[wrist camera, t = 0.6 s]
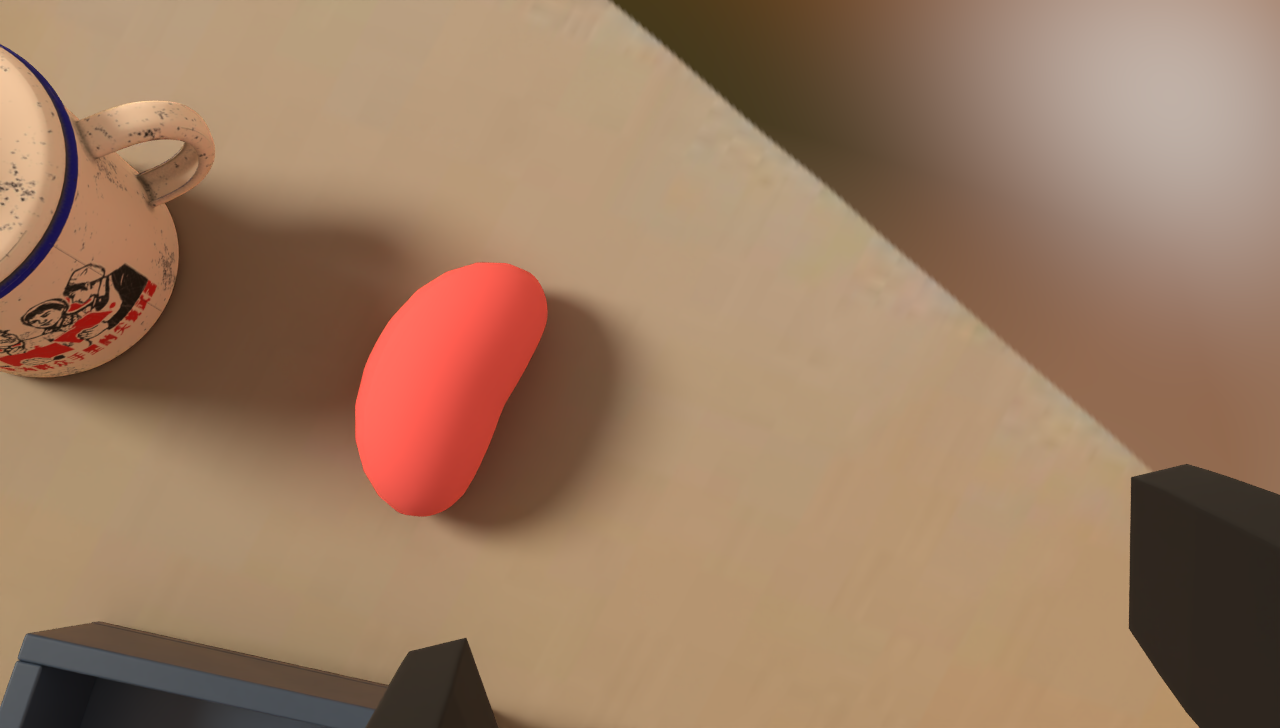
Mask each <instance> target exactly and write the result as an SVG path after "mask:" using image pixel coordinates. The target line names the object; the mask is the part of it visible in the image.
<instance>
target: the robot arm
mask: <svg viewBox="0 0 1280 728" xmlns="http://www.w3.org/2000/svg"><path fill="white" fill-rule="evenodd" d="M1129 629H1130V631H1131V632H1132V634H1133V635H1134V637H1135V638H1136V640H1137V641H1138V643H1139V644H1140V646H1141V647H1142V649H1143V650H1144V652H1145V653H1146V655H1147V656H1148V658H1149V659H1150V661H1151V662H1152V664H1153V665H1154V667H1155V668H1156V670H1157V672H1158V673H1159V674H1160V676H1161V677H1162V679H1163V680H1164V682H1165V683H1166V684H1167V686H1168V687H1169V689H1170V690H1171V691H1172V693H1173V694H1174V696H1175V697H1176V698H1177V700H1178V701H1179V703H1180V704H1181V705H1182V707H1183V708H1184V710H1185V711H1186V712H1187V713H1188V715H1189V716H1190V717H1191V718H1192V719H1193V720H1194V722H1195V723H1196V724H1197V725H1198V726H1199V727H1200V728H1280V495H1278V494H1276V493H1273V492H1270V491H1267V490H1264V489H1262V488H1259V487H1256V486H1253V485H1250V484H1247V483H1245V482H1242V481H1239V480H1236V479H1233V478H1230V477H1227V476H1224V475H1221V474H1218V473H1215V472H1212V471H1209V470H1205V469H1202V468H1199V467H1195V466H1192V465H1188V464H1185V465H1180V466H1176V467H1172V468H1168V469H1164V470H1160V471H1156V472H1151V473H1147V474H1143V475H1139V476H1135V477H1131V526H1130V591H1129ZM365 728H498V726H497V723H496V720H495V717H494V714H493V712H492V709H491V706H490V703H489V700H488V698H487V695H486V692H485V689H484V686H483V683H482V681H481V678H480V675H479V672H478V669H477V667H476V664H475V661H474V658H473V655H472V652H471V650H470V647H469V644H468V641H467V638H464V639H459V640H455V641H451V642H447V643H443V644H439V645H435V646H430V647H426V648H422V649H418V650H414V651H410V652H409V653H408V654H407V656H406V657H405V659H404V660H403V662H402V663H401V665H400V667H399V669H398V670H397V672H396V674H395V676H394V677H393V679H392V681H391V683H390V684H389V686H388V688H387V690H386V691H385V693H384V695H383V697H382V699H381V700H380V702H379V704H378V706H377V708H376V709H375V711H374V713H373V715H372V716H371V718H370V720H369V722H368V724H367V725H366V727H365Z"/></svg>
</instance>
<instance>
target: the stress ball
mask: <svg viewBox="0 0 1280 728" xmlns="http://www.w3.org/2000/svg"><path fill="white" fill-rule="evenodd" d="M546 322H547V302H546V297H545V294H544V291H543V289H542V287H541V285H540V283H539V282H538V280H537V279H536V278H535V277H534V276H533V275H532V274H531V273H529V272H527V271H525V270H523V269H520V268H518V267H515V266H513V265H511V264H506V263H475V264H471V265H468V266H464V267H461V268H458V269H454V270H451V271H448V272H445V273H444V274H442V275H441V276H439V277H437V278H436V279H434V280H433V281H431V282H429V283H428V284H426V285H425V286H423V287H421V288H420V289H418V290H417V291H416V292H415V293H414V294H413V295H412V296H411V297H410V299H409V300H408V301H407V302H406V303H405V304H404V305H403V306H402V307H401V308H400V309H399V310H398V311H397V312H396V313H395V315H394V316H393V317H392V318H391V319H390V321H389V322H388V324H387V325H386V327H385V328H384V330H383V332H382V333H381V335H380V337H379V338H378V340H377V342H376V344H375V346H374V348H373V350H372V352H371V354H370V356H369V358H368V361H367V363H366V365H365V368H364V371H363V376H362V380H361V384H360V388H359V392H358V396H357V400H356V404H355V439H356V443H357V447H358V451H359V455H360V458H361V462H362V466H363V470H364V472H365V474H366V475H367V477H368V479H369V480H370V482H371V484H372V485H373V487H374V489H375V490H376V492H377V494H378V495H379V496H380V497H381V498H382V499H383V500H384V501H385V502H387V503H388V504H389V505H390V506H391V507H392V508H394V509H395V510H396V511H397V512H399V513H401V514H405V515H412V516H430V515H434V514H437V513H440V512H442V511H444V510H446V509H448V508H449V507H451V506H452V505H453V504H454V503H455V502H456V501H457V500H458V499H459V498H461V497H462V495H463V494H464V493H465V491H466V490H467V488H468V486H469V485H470V483H471V482H472V480H473V478H474V476H475V474H476V472H477V470H478V468H479V466H480V464H481V462H482V460H483V458H484V455H485V453H486V451H487V449H488V446H489V444H490V441H491V439H492V436H493V434H494V431H495V428H496V426H497V423H498V420H499V417H500V415H501V412H502V410H503V408H504V405H505V403H506V401H507V400H508V398H509V396H510V395H511V393H512V391H513V390H514V388H515V386H516V385H517V383H518V381H519V380H520V378H521V376H522V374H523V373H524V371H525V369H526V367H527V365H528V363H529V361H530V359H531V357H532V355H533V353H534V351H535V349H536V347H537V346H538V344H539V341H540V339H541V336H542V334H543V331H544V329H545V326H546Z"/></svg>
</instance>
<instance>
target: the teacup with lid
mask: <svg viewBox="0 0 1280 728" xmlns="http://www.w3.org/2000/svg"><path fill="white" fill-rule="evenodd" d="M161 139H172V140H180V141H184V144H183V146H182V148H181V149H180V150H179V151H178V153H177V154H175V155H174V156H173V157H172V158H170V159H169V160H167V161H166V162H164V163H162V164H160V165H158V166H156V167H154V168H152V169H150V170H147V171H145V172H143V173H140V174H139V173H138V172H137V171H136V170H135V169H134V168H132V167H131V166H130V165H129V164H128V163H127V162H126V161H125V160H124V159H122V158H121V157H120V156H119V155H118V154H117V153H116V152H115V151H118V150H121V149H123V148H126V147H129V146H132V145H135V144H138V143H142V142H146V141H152V140H161ZM214 158H215V145H214V141H213V138H212V136H211V133H210V131H209V129H208V127H207V125H206V123H205V121H204V120H203V119H202V117H201V116H200V115H199V114H198V113H196V112H195V111H194V110H192V109H191V108H189V107H187V106H185V105H182V104H179V103H175V102H169V101H140V102H133V103H128V104H124V105H120V106H117V107H114V108H110V109H108V110H105V111H102V112H99V113H97V114H94V115H92V116H89V117H87V118H84V119H82V120H79V119H78V118H77V117H76V116H75V115H74V114H73V113H71V112H70V111H69V110H68V109H67V108H66V107H65V106H64V105H63V103H62V101H61V100H60V98H59V97H58V95H57V93H56V92H55V90H54V89H53V88H52V87H51V85H50V84H49V83H48V81H47V80H46V79H45V78H44V77H43V76H42V75H41V74H40V73H39V72H38V71H37V70H36V69H35V68H34V67H33V66H32V65H31V64H29V63H28V62H27V61H26V60H25V59H23V58H22V57H20V56H19V55H17V54H16V53H14V52H13V51H11V50H10V49H8V48H6V47H4V46H3V45H1V44H0V371H3V372H6V373H9V374H15V375H20V376H28V377H59V376H66V375H71V374H76V373H80V372H83V371H87V370H89V369H92V368H95V367H98V366H100V365H102V364H104V363H106V362H108V361H110V360H112V359H114V358H115V357H117V356H119V355H121V354H122V353H123V352H125V351H126V350H128V349H129V348H130V347H132V346H133V345H134V344H135V343H136V342H138V341H139V340H140V339H141V338H142V337H143V336H144V335H145V334H146V333H147V332H148V331H149V330H150V328H151V327H152V326H153V325H154V323H155V322H156V321H157V319H158V318H159V316H160V315H161V313H162V312H163V310H164V308H165V306H166V304H167V303H168V300H169V298H170V296H171V293H172V291H173V287H174V284H175V281H176V276H177V271H178V261H179V246H178V238H177V233H176V229H175V225H174V222H173V219H172V217H171V214H170V212H169V210H168V208H167V206H166V205H165V203H166V202H168V201H170V200H172V199H174V198H176V197H178V196H180V195H182V194H184V193H186V192H187V191H189V190H190V189H192V188H193V187H195V186H196V185H197V184H198V183H200V182H201V181H202V180H203V179H204V177H205V176H206V175H207V174H208V172H209V170H210V169H211V167H212V164H213V162H214Z"/></svg>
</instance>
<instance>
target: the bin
mask: <svg viewBox="0 0 1280 728" xmlns="http://www.w3.org/2000/svg"><path fill="white" fill-rule="evenodd" d="M18 659H19V661H17V662H16V663H15V666H14V669H13V672H12V675H11V678H10V681H9V684H8V686H7V689H6V692H5V695H4V698H3V701H2V704H1V706H0V728H365V727H366V725H367V724H368V722H369V720H370V718H371V716H372V715H373V713H374V711H375V709H376V708H377V706H378V704H379V702H380V700H381V699H382V697H383V695H384V693H385V691H386V690H387V688H388V686H389V685H384V684H379V683H375V682H370V681H366V680H361V679H357V678H352V677H348V676H343V675H339V674H334V673H330V672H325V671H321V670H316V669H312V668H307V667H302V666H298V665H293V664H289V663H284V662H280V661H275V660H271V659H266V658H262V657H257V656H253V655H248V654H244V653H239V652H234V651H230V650H225V649H221V648H216V647H212V646H207V645H203V644H198V643H194V642H189V641H185V640H180V639H176V638H171V637H166V636H162V635H157V634H153V633H148V632H144V631H139V630H135V629H130V628H126V627H121V626H117V625H112V624H108V623H103V622H99V621H98V622H92V623H89V624H82V625H76V626H70V627H64V628H58V629H52V630H46V631H40V632H33V633H27V634H26V636H25V638H24V641H23V644H22V647H21V649H20V652H19V655H18Z"/></svg>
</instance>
